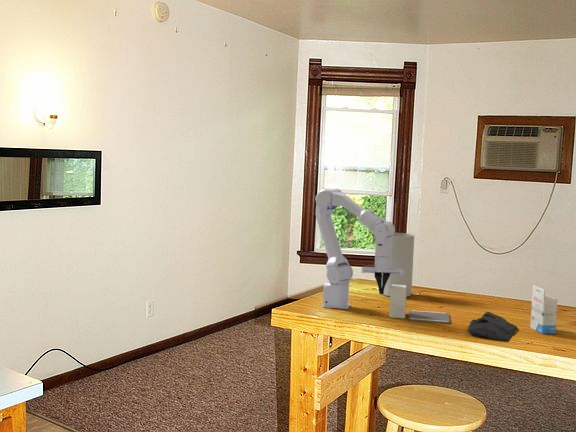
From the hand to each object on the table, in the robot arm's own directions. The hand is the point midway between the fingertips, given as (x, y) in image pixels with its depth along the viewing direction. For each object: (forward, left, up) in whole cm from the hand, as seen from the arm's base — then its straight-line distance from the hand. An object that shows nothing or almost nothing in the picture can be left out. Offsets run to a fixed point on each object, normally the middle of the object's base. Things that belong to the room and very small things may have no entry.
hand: (381, 293), depth 229 cm
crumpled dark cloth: (+36, -11, -8) cm, 39 cm away
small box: (+6, 0, -8) cm, 10 cm away
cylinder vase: (+4, +37, -8) cm, 38 cm away
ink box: (+54, -5, -8) cm, 55 cm away
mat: (+17, +1, -7) cm, 19 cm away
